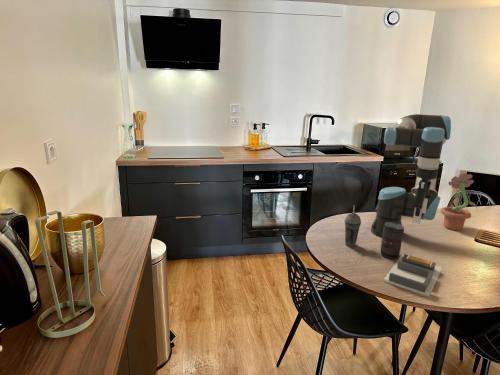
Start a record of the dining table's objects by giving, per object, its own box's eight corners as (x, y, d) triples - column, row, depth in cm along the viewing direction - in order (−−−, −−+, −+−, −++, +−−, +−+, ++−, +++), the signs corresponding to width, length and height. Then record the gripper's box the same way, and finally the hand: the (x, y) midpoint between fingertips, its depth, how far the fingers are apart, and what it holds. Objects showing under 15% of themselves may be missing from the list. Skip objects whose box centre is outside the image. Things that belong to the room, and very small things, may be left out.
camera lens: (398, 263, 145) (403, 230, 140) (377, 258, 149) (382, 226, 144) (400, 255, 152) (405, 224, 147) (381, 251, 155) (385, 220, 151)
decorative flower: (463, 223, 187) (475, 170, 179) (474, 234, 174) (487, 177, 166) (434, 221, 190) (444, 168, 181) (443, 231, 177) (454, 175, 168)
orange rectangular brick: (406, 264, 142) (407, 258, 141) (408, 261, 145) (409, 255, 144) (428, 270, 138) (429, 264, 137) (429, 267, 140) (430, 261, 139)
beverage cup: (359, 243, 163) (364, 203, 157) (357, 249, 157) (362, 208, 151) (343, 240, 166) (347, 200, 160) (340, 246, 160) (345, 205, 154)
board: (383, 281, 132) (384, 272, 131) (400, 257, 150) (402, 249, 149) (429, 296, 123) (431, 287, 121) (441, 269, 141) (443, 260, 140)
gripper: (433, 175, 124) (424, 230, 130) (442, 162, 144) (433, 210, 150) (411, 172, 128) (403, 225, 134) (422, 160, 148) (414, 207, 154)
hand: (419, 217), depth 142 cm, fingers open, 13 cm apart
